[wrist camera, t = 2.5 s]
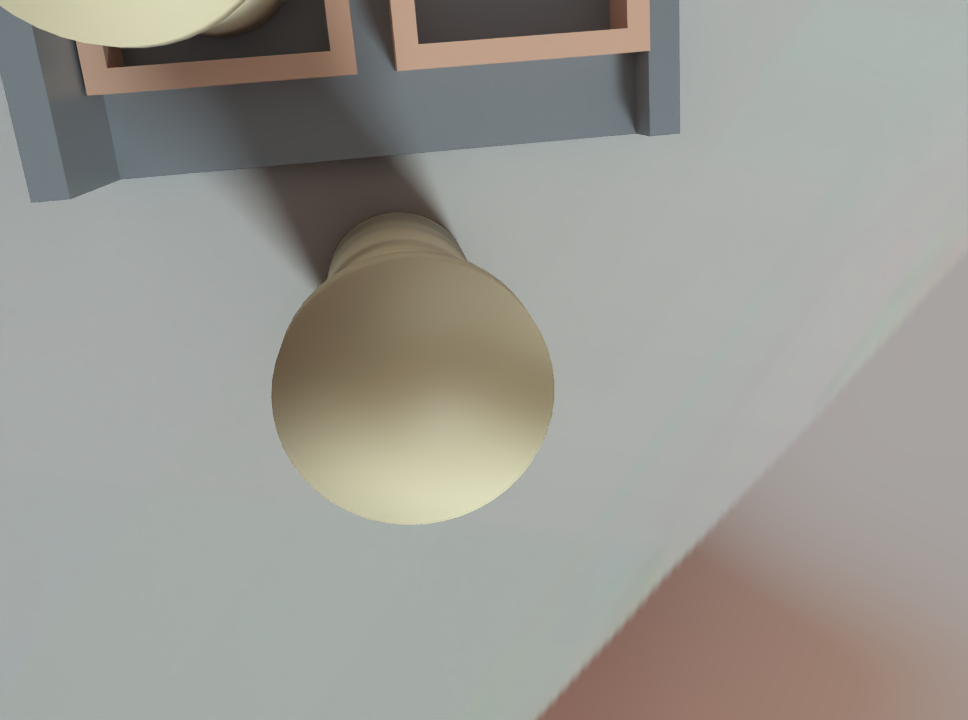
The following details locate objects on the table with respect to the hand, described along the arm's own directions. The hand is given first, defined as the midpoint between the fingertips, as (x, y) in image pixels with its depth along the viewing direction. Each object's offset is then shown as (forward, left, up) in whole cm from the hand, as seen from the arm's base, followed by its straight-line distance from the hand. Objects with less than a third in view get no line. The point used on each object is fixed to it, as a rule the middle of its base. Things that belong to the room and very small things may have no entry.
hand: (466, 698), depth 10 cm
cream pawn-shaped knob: (0, 0, -22) cm, 22 cm away
